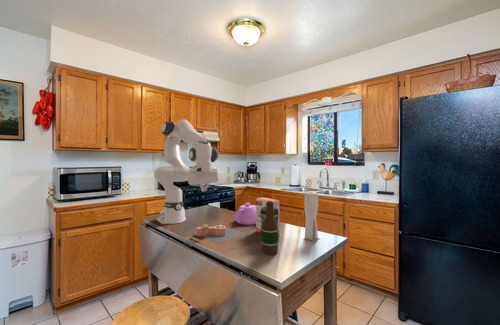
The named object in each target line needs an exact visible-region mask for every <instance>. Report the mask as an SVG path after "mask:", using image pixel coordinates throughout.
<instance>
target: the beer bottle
mask: <svg viewBox="0 0 500 325" xmlns="http://www.w3.org/2000/svg"><path fill="white" fill-rule="evenodd" d="M273 204H274V203H273V202H271V201H269V202H266V205H267V207H266V219H265V220H264V222H263V225H262V241H261V249H262V250H261V252H262V253H263V254H265V255H268V256H269V255H270V256H273V255H277V254H278V251H279V241H278V224H277V222H276V220H275V219H274V209H273Z"/></svg>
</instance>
